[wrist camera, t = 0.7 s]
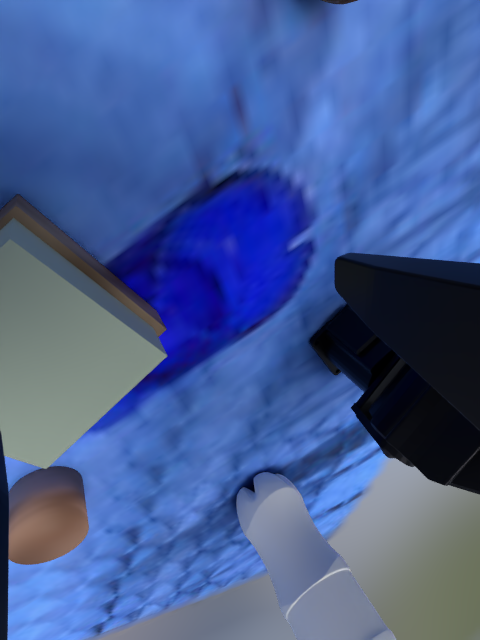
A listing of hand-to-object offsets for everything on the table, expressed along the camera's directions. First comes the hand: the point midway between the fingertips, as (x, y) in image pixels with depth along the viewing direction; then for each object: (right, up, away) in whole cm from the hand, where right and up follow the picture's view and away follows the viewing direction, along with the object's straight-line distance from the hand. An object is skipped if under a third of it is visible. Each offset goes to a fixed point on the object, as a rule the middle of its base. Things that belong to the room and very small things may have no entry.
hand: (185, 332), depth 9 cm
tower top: (-10, -1, +10) cm, 14 cm away
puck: (-13, -13, +19) cm, 26 cm away
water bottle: (+3, -19, +32) cm, 38 cm away
